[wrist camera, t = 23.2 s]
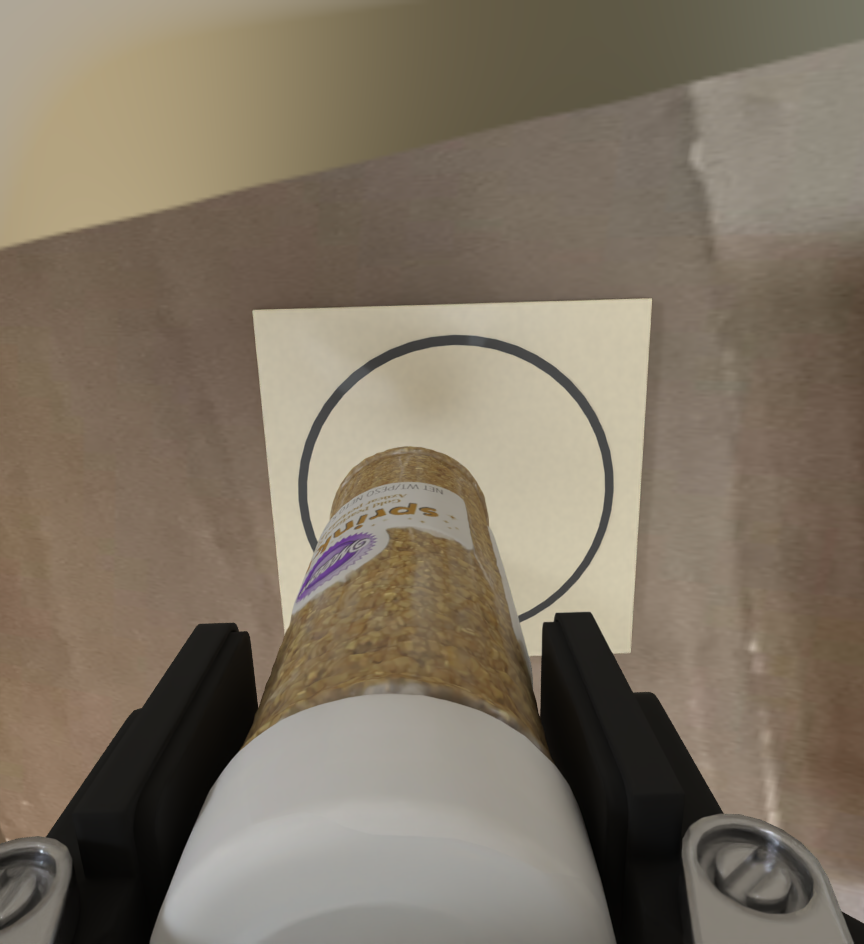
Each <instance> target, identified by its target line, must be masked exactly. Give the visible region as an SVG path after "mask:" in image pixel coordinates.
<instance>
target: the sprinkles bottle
mask: <svg viewBox="0 0 864 944" xmlns="http://www.w3.org/2000/svg"><path fill="white" fill-rule="evenodd" d="M150 944H617V943H616V939H615V935H614V931H613V927H612V923H611V919H610V914H609V910H608V906H607V902H606V898H605V894H604V890H603V886H602V882H601V878H600V875H599V871H598V868H597V864H596V861H595V857H594V854H593V851H592V847H591V844H590V840H589V837H588V833H587V830H586V826H585V823H584V820H583V817H582V814H581V811H580V809H579V806H578V803H577V801H576V799H575V797H574V795H573V792H572V790H571V788H570V786H569V784H568V783H567V781H566V780H565V778H564V777H563V776H562V774H561V773H560V771H559V770H558V768H557V767H556V766H555V764H554V762H553V760H552V758H551V756H550V752H549V749H548V746H547V742H546V739H545V734H544V729H543V726H542V724H541V720H540V716H539V714H538V708H537V702H536V698H535V695H534V692H533V678H532V668H531V663H530V659H529V655H528V651H527V647H526V644H525V640H524V636H523V633H522V629H521V626H520V622H519V618H518V615H517V612H516V608H515V605H514V601H513V598H512V594H511V591H510V587H509V583H508V580H507V576H506V573H505V569H504V566H503V563H502V560H501V557H500V553H499V550H498V547H497V543H496V540H495V537H494V535H493V533H492V530H491V529H490V528H489V516H488V511H487V506H486V502H485V496H484V494H483V492H482V490H481V489H480V487H479V485H478V483H477V481H476V480H475V478H474V477H473V476H472V474H471V473H470V472H469V470H468V469H467V468H466V467H465V466H463V465H462V464H461V463H459V462H458V461H456V460H455V459H453V458H451V457H450V456H448V455H446V454H443V453H440V452H436V451H434V450H431V449H426V448H423V447H412V446H404V447H397V448H392V449H388V450H386V451H384V452H379V453H376V454H375V455H373V456H370V457H368V458H365V459H364V460H363V461H361V462H360V463H359V464H358V465H356V466H355V467H353V468H352V469H351V470H350V472H349V473H348V474H347V476H346V477H345V478H344V480H343V481H342V483H341V484H340V486H339V488H338V490H337V492H336V495H335V498H334V500H333V504H332V508H331V513H330V521H329V522H328V524H327V525H326V527H325V529H324V530H323V532H322V534H321V536H320V539H319V541H318V543H317V546H316V549H315V551H314V554H313V556H312V559H311V561H310V564H309V567H308V569H307V572H306V574H305V577H304V579H303V582H302V585H301V587H300V590H299V592H298V595H297V598H296V600H295V602H294V606H293V610H292V615H291V620H290V625H289V627H288V629H287V631H286V633H285V636H284V639H283V642H282V645H281V646H280V648H279V651H278V655H277V658H276V661H275V663H274V665H273V668H272V672H271V675H270V677H269V679H268V681H267V683H266V687H265V691H264V693H263V696H262V699H261V702H260V706H259V708H258V710H257V712H256V714H255V717H254V721H253V725H252V727H251V729H250V732H249V733H248V735H247V738H246V740H245V742H244V745H243V746H242V747H241V749H240V751H239V752H238V753H237V754H236V755H235V756H234V758H233V759H232V760H231V761H230V762H229V764H228V765H227V766H226V768H225V769H224V770H223V772H222V773H221V774H220V776H219V777H218V779H217V780H216V782H215V783H214V785H213V786H212V788H211V789H210V791H209V793H208V795H207V797H206V800H205V802H204V804H203V806H202V809H201V811H200V813H199V816H198V818H197V820H196V823H195V825H194V827H193V830H192V832H191V834H190V837H189V839H188V841H187V843H186V846H185V848H184V850H183V853H182V855H181V858H180V861H179V863H178V866H177V868H176V871H175V873H174V876H173V878H172V881H171V883H170V886H169V889H168V891H167V894H166V896H165V899H164V901H163V904H162V906H161V909H160V912H159V914H158V917H157V920H156V923H155V926H154V929H153V932H152V935H151V938H150Z"/></svg>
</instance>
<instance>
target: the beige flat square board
mask: <svg viewBox="0 0 864 944" xmlns="http://www.w3.org/2000/svg"><path fill="white" fill-rule="evenodd" d="M651 310H652V299H651V298H636V299H602V300H568V301H534V302H500V303H466V304H432V305H398V306H364V307H330V308H295V309H261V310H253V311H252V312H253V322H254V332H255V342H256V352H257V362H258V372H259V382H260V392H261V403H262V413H263V423H264V433H265V443H266V453H267V463H268V473H269V483H270V493H271V503H272V513H273V523H274V533H275V543H276V553H277V563H278V573H279V583H280V593H281V603H282V613H283V623H284V634H285V633H286V631H287V629H288V627H289V625H290V620H291V615H292V610H293V606H294V602H295V600H296V598H297V595H298V592H299V590H300V587H301V585H302V582H303V579H304V577H305V574H306V572H307V569H308V567H309V564H310V561H311V559H312V556H313V554H314V551H315V549H316V546H317V543H318V541H319V539H320V536H321V534H322V532H323V530H324V529H325V527H326V525H327V524H328V522H329V521H330V513H331V508H332V504H333V500H334V498H335V495H336V492H337V490H338V488H339V486H340V484H341V483H342V481H343V480H344V478H345V477H346V476H347V474H348V473H349V472H350V470H351V469H352V468H353V467H355V466H356V465H358V464H359V463H360V462H361V461H363V460H364V459H365V458H368V457H370V456H373V455H375V454H376V453H379V452H384V451H386V450H388V449H392V448H397V447H404V446H412V447H423V448H426V449H431V450H434V451H436V452H440V453H443V454H446V455H448V456H450V457H451V458H453V459H455V460H456V461H458V462H459V463H461V464H462V465H463V466H465V467H466V468H467V469H468V470H469V472H470V473H471V474H472V476H473V477H474V478H475V480H476V481H477V483H478V485H479V487H480V489H481V490H482V492H483V494H484V496H485V502H486V506H487V511H488V516H489V528H490V529H491V530H492V533H493V535H494V537H495V540H496V543H497V547H498V550H499V553H500V557H501V560H502V563H503V566H504V569H505V573H506V576H507V580H508V583H509V587H510V591H511V594H512V598H513V601H514V605H515V608H516V612H517V615H518V618H519V622H520V626H521V629H522V633H523V636H524V640H525V644H526V647H527V651H528V655H529V656H542V626H543V623H544V622H554V616H555V614H556V613H565V612H591V613H592V615H593V617H594V618H595V620H596V622H597V624H598V626H599V628H600V630H601V632H602V634H603V636H604V638H605V640H606V642H607V644H608V646H609V647H610V649H611V651H612V653H613V654H614V653H630V652H631V638H632V622H633V606H634V589H635V573H636V556H637V540H638V524H639V507H640V491H641V474H642V458H643V441H644V425H645V409H646V392H647V376H648V359H649V343H650V327H651Z"/></svg>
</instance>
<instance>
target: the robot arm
mask: <svg viewBox="0 0 864 944" xmlns="http://www.w3.org/2000/svg"><path fill="white" fill-rule="evenodd" d="M257 710H258V702H257V693H256V685H255V676H254V667H253V658H252V650H251V641H250V636H249V633H248V632H247V631H244V632H239V630H238V627H237V625H236V624H235V623H213V624H198V626H197V627H196V628H195V629H194V631H193V632H192V634H191V635H190V637H189V638H188V640H187V641H186V643H185V644H184V646H183V647H182V649H181V650H180V652H179V653H178V655H177V656H176V658H175V659H174V661H173V662H172V664H171V665H170V667H169V668H168V670H167V671H166V673H165V674H164V676H163V677H162V679H161V680H160V682H159V683H158V685H157V686H156V688H155V689H154V691H153V692H152V694H151V695H150V697H149V698H148V700H147V701H146V703H145V704H144V706H143V707H142V708H140V709H137V710H134V711H133V712H132V713H131V715H130V716H129V717H128V718H127V719H126V721H125V722H124V724H123V725H122V727H121V728H120V730H119V731H118V733H117V734H116V736H115V737H114V738H113V740H112V741H111V743H110V744H109V746H108V747H107V749H106V750H105V752H104V753H103V755H102V756H101V757H100V759H99V760H98V762H97V763H96V765H95V766H94V768H93V769H92V771H91V772H90V773H89V775H88V776H87V778H86V779H85V781H84V782H83V784H82V785H81V787H80V788H79V790H78V791H77V792H76V794H75V795H74V797H73V798H72V800H71V801H70V803H69V804H68V806H67V807H66V809H65V810H64V811H63V813H62V814H61V816H60V817H59V819H58V820H57V822H56V823H55V825H54V826H53V828H52V829H51V830H50V832H49V833H48V835H47V836H46V837H40V836H36V837H27V838H18V839H15V840H11V841H8V842H5V843H1V844H0V944H150V938H151V935H152V932H153V929H154V926H155V923H156V920H157V917H158V914H159V912H160V909H161V906H162V904H163V901H164V899H165V896H166V894H167V891H168V889H169V886H170V883H171V881H172V878H173V876H174V873H175V871H176V868H177V866H178V863H179V861H180V858H181V855H182V853H183V850H184V848H185V846H186V843H187V841H188V839H189V837H190V834H191V832H192V830H193V827H194V825H195V823H196V820H197V818H198V816H199V813H200V811H201V809H202V806H203V804H204V802H205V800H206V797H207V795H208V793H209V791H210V789H211V788H212V786H213V785H214V783H215V782H216V780H217V779H218V777H219V776H220V774H221V773H222V772H223V770H224V769H225V768H226V766H227V765H228V764H229V762H230V761H231V760H232V759H233V758H234V756H235V755H236V754H237V753H238V752H239V751H240V749H241V747H242V746H243V745H244V742H245V740H246V738H247V735H248V733H249V732H250V729H251V727H252V725H253V721H254V717H255V714H256V712H257ZM540 720H541V724H542V726H543V729H544V734H545V739H546V742H547V746H548V749H549V752H550V756H551V758H552V760H553V762H554V764H555V766H556V767H557V768H558V770H559V771H560V773H561V774H562V776H563V777H564V778H565V780H566V781H567V783H568V784H569V786H570V788H571V790H572V792H573V795H574V797H575V799H576V801H577V803H578V806H579V809H580V811H581V814H582V817H583V820H584V823H585V826H586V830H587V833H588V837H589V840H590V844H591V847H592V851H593V854H594V857H595V861H596V864H597V868H598V871H599V875H600V878H601V882H602V886H603V890H604V894H605V898H606V902H607V906H608V910H609V914H610V919H611V923H612V927H613V931H614V935H615V939H616V943H617V944H864V923H862V922H860V921H858V920H856V919H854V918H853V917H851V916H849V915H847V914H845V913H844V912H842V911H841V909H840V907H839V904H838V901H837V899H836V896H835V894H834V891H833V889H832V886H831V884H830V881H829V878H828V876H827V875H826V873H825V871H824V870H823V868H822V866H821V864H820V863H819V861H818V859H817V858H816V857H815V856H814V855H813V854H812V853H811V852H810V851H809V850H808V849H807V848H806V847H805V846H804V845H803V844H802V843H801V842H799V841H798V840H797V839H795V838H794V837H792V836H791V835H789V834H788V833H786V832H785V831H784V830H782V829H780V828H778V827H776V826H773V825H771V824H769V823H767V822H765V821H762V820H760V819H756V818H752V817H748V816H744V815H740V814H724V813H723V812H722V810H721V808H720V806H719V805H718V803H717V801H716V799H715V798H714V796H713V794H712V792H711V791H710V789H709V787H708V785H707V784H706V782H705V780H704V778H703V777H702V775H701V773H700V771H699V770H698V768H697V766H696V764H695V763H694V761H693V759H692V757H691V756H690V754H689V752H688V750H687V749H686V747H685V745H684V743H683V742H682V740H681V738H680V736H679V735H678V733H677V731H676V729H675V728H674V726H673V724H672V722H671V721H670V719H669V717H668V715H667V714H666V712H665V710H664V708H663V707H662V705H661V703H660V701H659V700H658V698H657V697H656V696H655V694H653V693H651V692H637V693H633V692H632V690H631V688H630V686H629V684H628V682H627V680H626V678H625V676H624V674H623V673H622V671H621V669H620V667H619V665H618V663H617V661H616V659H615V657H614V655H613V653H612V651H611V649H610V647H609V646H608V644H607V642H606V640H605V638H604V636H603V634H602V632H601V630H600V628H599V626H598V624H597V622H596V620H595V618H594V617H593V615H592V613H591V612H565V613H556V614H555V616H554V622H544V623H543V626H542V661H541V709H540Z"/></svg>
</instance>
